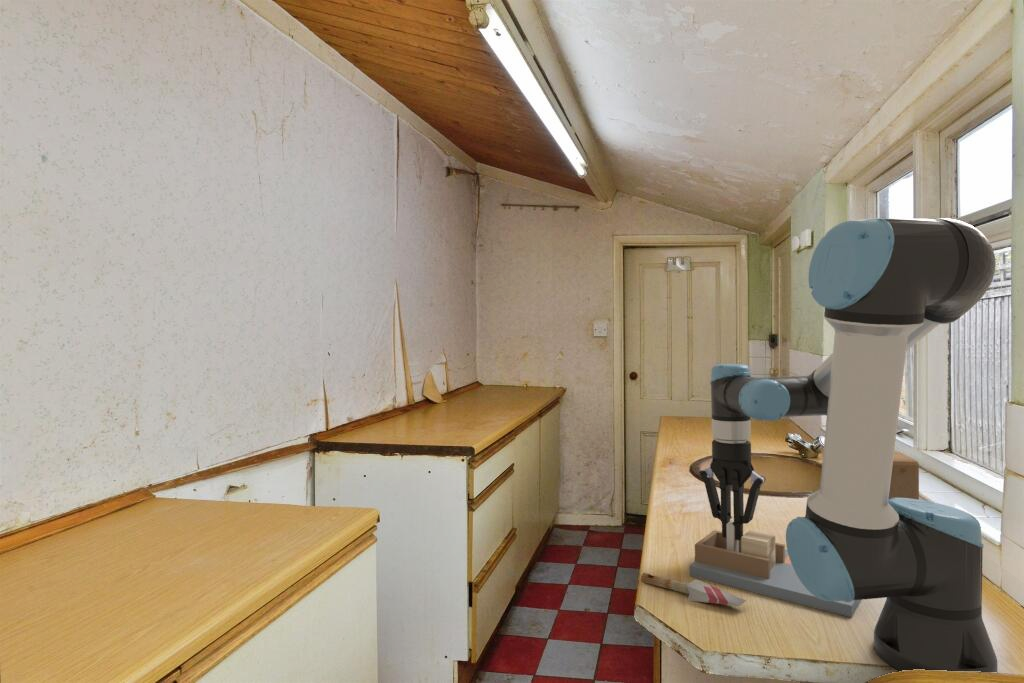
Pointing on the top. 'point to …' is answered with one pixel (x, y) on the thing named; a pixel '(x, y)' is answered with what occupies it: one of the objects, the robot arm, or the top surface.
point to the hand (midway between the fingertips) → (732, 554)
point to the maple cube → (759, 545)
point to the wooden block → (904, 477)
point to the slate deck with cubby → (758, 574)
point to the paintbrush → (695, 590)
